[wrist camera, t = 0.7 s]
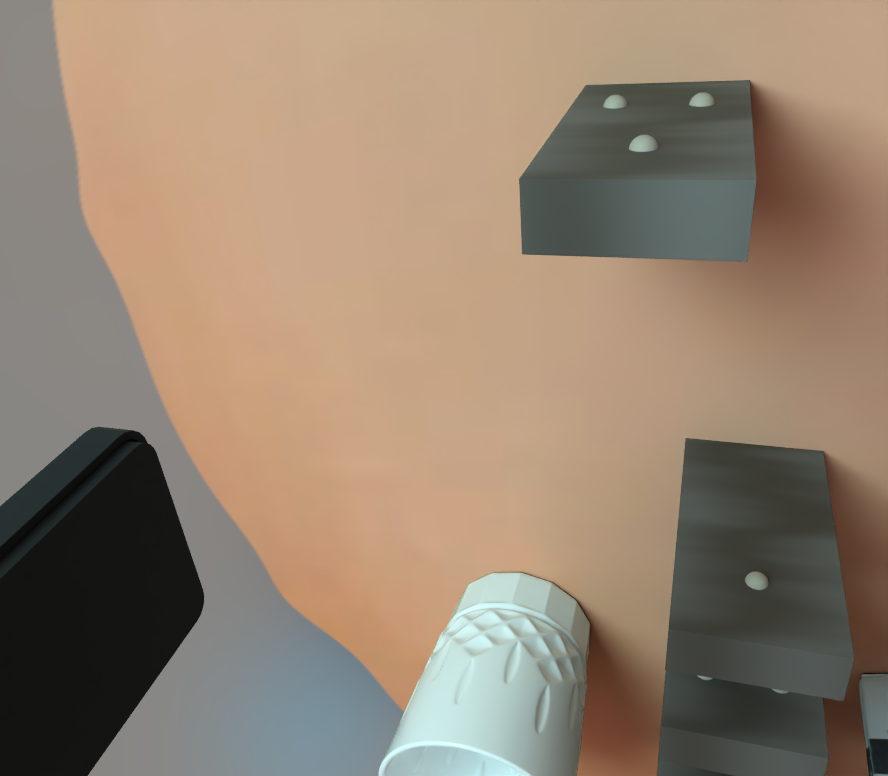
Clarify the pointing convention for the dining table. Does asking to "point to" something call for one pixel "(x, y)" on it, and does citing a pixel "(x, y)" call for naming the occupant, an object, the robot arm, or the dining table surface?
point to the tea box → (875, 721)
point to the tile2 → (741, 728)
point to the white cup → (499, 686)
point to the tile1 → (758, 571)
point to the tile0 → (645, 174)
